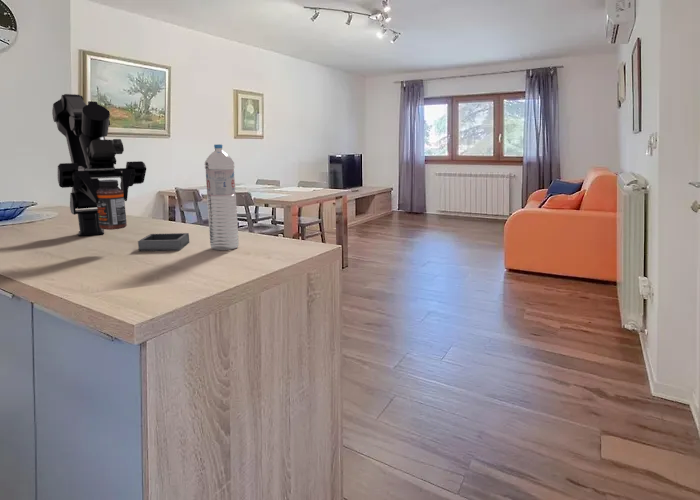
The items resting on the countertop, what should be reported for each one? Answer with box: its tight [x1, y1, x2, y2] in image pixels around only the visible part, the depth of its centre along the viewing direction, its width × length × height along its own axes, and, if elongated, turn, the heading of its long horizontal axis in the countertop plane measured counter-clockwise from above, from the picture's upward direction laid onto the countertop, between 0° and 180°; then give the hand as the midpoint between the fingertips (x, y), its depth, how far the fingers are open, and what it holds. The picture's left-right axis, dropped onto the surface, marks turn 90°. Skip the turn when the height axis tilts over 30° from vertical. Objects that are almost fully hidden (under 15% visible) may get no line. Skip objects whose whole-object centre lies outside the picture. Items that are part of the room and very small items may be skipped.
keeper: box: [137, 232, 190, 252], centre depth 121 cm, size 10×10×2 cm
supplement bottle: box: [96, 179, 128, 231], centre depth 114 cm, size 6×6×11 cm
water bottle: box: [204, 143, 240, 251], centre depth 117 cm, size 7×7×25 cm
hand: (111, 200), depth 113 cm, fingers closed on supplement bottle, 6 cm apart
